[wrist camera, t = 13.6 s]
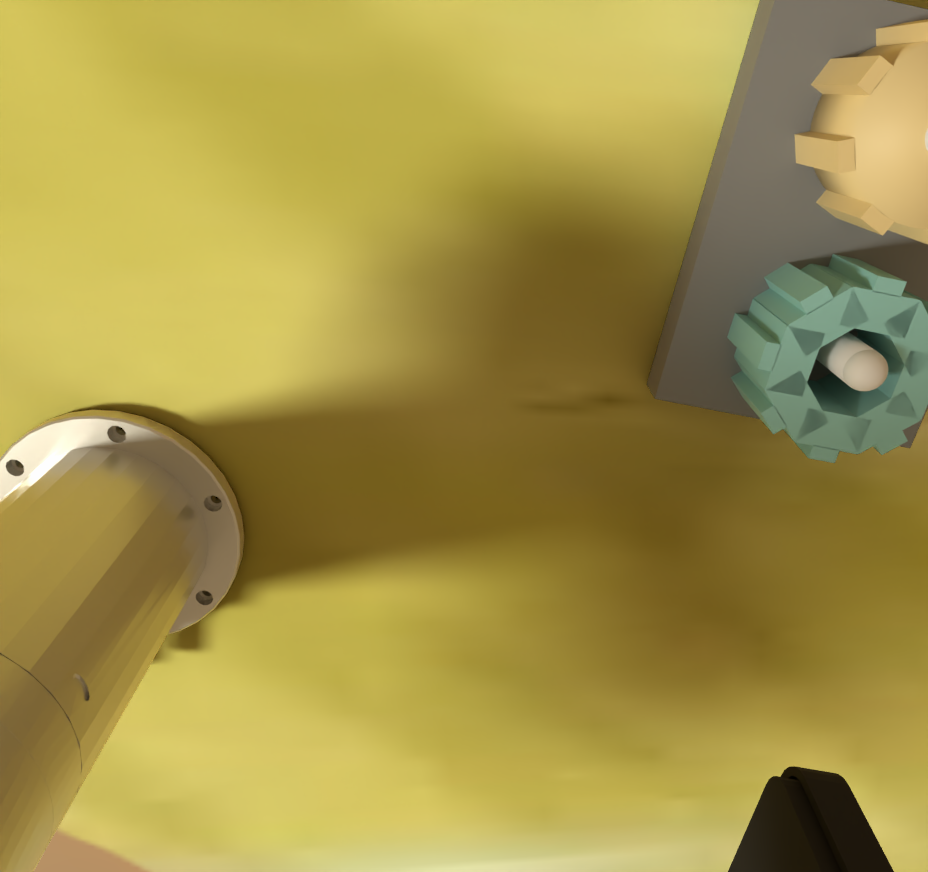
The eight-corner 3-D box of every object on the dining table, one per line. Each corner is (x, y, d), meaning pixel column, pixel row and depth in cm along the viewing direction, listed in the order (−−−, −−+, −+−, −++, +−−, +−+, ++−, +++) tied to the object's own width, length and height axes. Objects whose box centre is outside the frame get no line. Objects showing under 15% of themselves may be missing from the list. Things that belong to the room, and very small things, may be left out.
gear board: (890, 431, 41) (979, 506, 33) (646, 384, 40) (683, 450, 33) (1053, 46, 34) (1206, 37, 27) (765, -18, 33) (843, -46, 26)
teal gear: (865, 435, 38) (910, 477, 34) (704, 405, 38) (731, 443, 34) (931, 273, 36) (989, 298, 32) (759, 239, 35) (795, 259, 31)
